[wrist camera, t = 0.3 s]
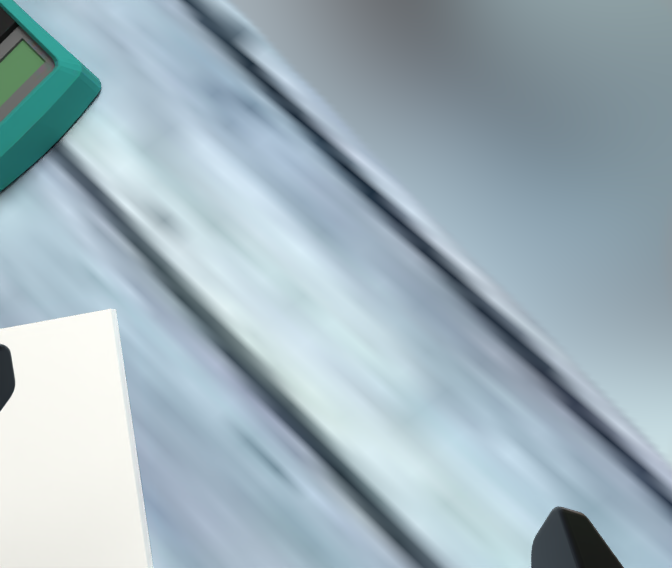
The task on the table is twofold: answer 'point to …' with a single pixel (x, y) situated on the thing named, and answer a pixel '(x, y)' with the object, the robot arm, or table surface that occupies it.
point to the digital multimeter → (35, 91)
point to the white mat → (70, 450)
